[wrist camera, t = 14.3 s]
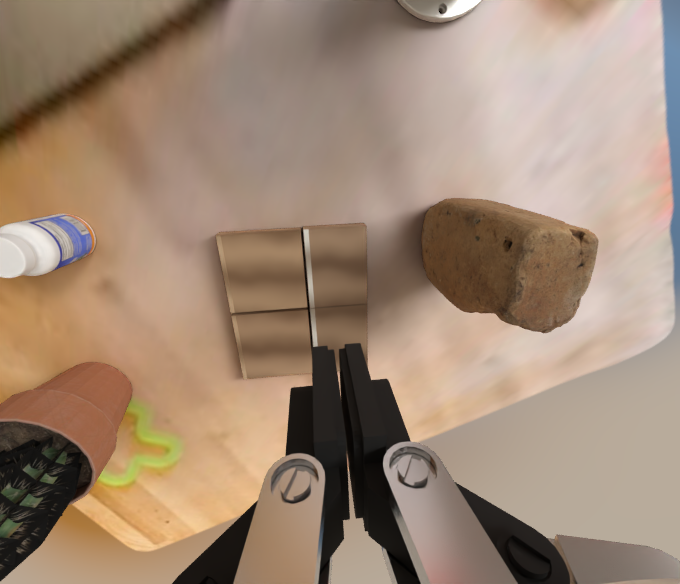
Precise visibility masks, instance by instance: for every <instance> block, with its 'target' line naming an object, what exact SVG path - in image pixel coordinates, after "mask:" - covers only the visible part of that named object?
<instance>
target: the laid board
mask: <svg viewBox="0 0 680 584" xmlns="http://www.w3.org/2000/svg"><path fill="white" fill-rule="evenodd" d="M303 235H304V247H305V259H306V270H307V282H308V293H309V305H310V317H311V328H312V340H313V347H316V346H328V350H331V349H334V353H335V360H336V368H337V371H340V365H339V349H342V348H344V345H345V344H352V343H361V347H362V350H363V354H364V357H365V361H366V364H367V368H368V356H367V227H366V225H365V224H364V223H354V224H336V225H319V226H303Z"/></svg>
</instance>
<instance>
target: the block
mask: <svg viewBox="0 0 680 584" xmlns="http://www.w3.org/2000/svg"><path fill="white" fill-rule="evenodd" d="M421 246H422V258H423V263H424V264H423V265H424V269H425V271H426V273H427V274H426V275H427V277H428V279H429V280H430V281H431V282H432V284H433V285H434V286H435V287H436V288H437V289H438V290H439V291H440V292H441V293H442V294H443V295H444V296H445V297H446V298H447V299H448V300H449V301H450V302H451V303H452V304H453V305H455V306H456V307H457V308H459V309H460V310H462V311H464V312H469V313H474V312H478V313H495V314H496V315H497V316H498V317H499V318H500V319H501V320H502V321H504V322H506V323H509V324H512V325H517V326H520V327H522V328H524V329H528V330H531V331H537V332H542V333H548V332H550V331H552V330H553V329H555V328H556V327H561V326H562V325H563V324H565V323H568V322H569V321H570V320H571V319H572V318H573V317H574V315H575V314H576V311H577V309H578V308H579V304H580V300H581V297H582V296H583V295H584V294H585V292H586V290H587V288H588V285H589V283H590V280H591V276H592V272H593V269H594V265H595V260H596V254H597V248H598V239H597V237H596V235H595V234H594V233H592V232H591V231H589V230H587V229H583V228H579V227H576V226H572V225H569V224H566V223H565V222H563V221H560V220H557V219H554V218H551V217H548V216H545V215H541V214H538V213H534V212H531V211H527V210H523V209H519V208H515V207H512V206H510V205H506V204H502V203H498V202H494V201H489V200H483V199H463V198H451V199H445V200H443V201H441V202H439V203H438V204H437V205H436V206H433V207H431V208H430V209H429V210H428V212H427V213H426V215H425V219H424V223H423V229H422V234H421Z"/></svg>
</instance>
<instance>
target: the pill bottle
mask: <svg viewBox="0 0 680 584" xmlns="http://www.w3.org/2000/svg"><path fill="white" fill-rule="evenodd" d="M95 245H96V237H95V234H94V231H93V230H92V228H91V227H90V225H89V224H88V223H87V222H85V221H84V220H83V219H81V218H79V217H77V216H74V215H71V214H55V215H50V216H46V217H41V218H36V219H31V220H26V221H20V222H15V223H11V224H7V225H4V226H2V227H1V228H0V277H3V278H14V277H18V276H21V275H26V276H39V275H43V274H46V273H49V272H51V271H53V270H56V269H58V268H60V267H63V266H65V265H67V264H70V263H72V262H75V261H77V260H79V259H82V258H84V257H86V256H88V255H89V254H91V253H92V252H93V250H94V248H95Z"/></svg>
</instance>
